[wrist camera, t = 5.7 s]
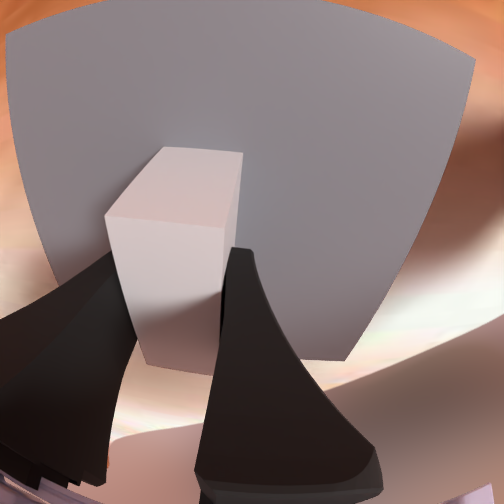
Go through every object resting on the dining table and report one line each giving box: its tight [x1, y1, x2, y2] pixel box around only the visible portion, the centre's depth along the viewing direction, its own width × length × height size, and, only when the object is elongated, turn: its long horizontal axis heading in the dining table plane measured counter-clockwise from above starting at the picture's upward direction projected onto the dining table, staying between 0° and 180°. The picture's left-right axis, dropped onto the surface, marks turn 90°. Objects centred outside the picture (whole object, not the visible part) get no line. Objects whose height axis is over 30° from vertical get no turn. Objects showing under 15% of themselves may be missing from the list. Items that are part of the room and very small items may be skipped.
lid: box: [6, 0, 476, 376], centre depth 9 cm, size 16×16×5 cm
